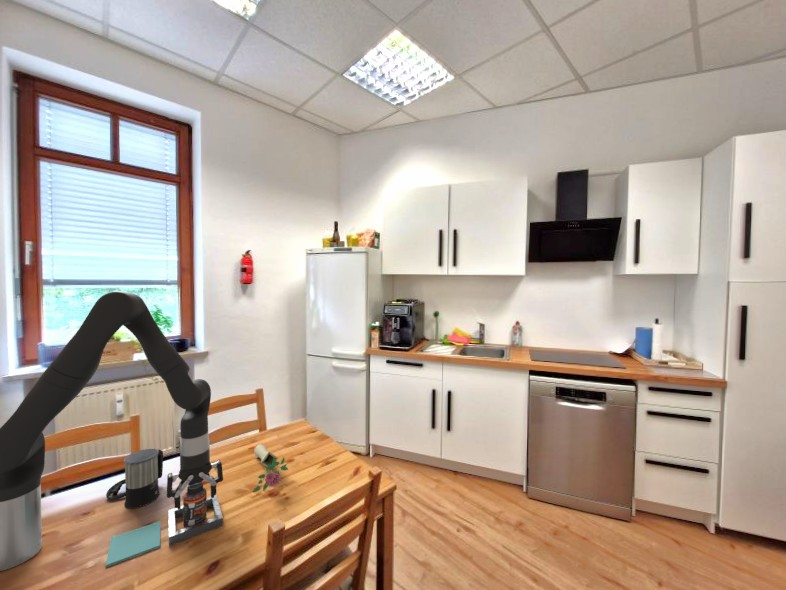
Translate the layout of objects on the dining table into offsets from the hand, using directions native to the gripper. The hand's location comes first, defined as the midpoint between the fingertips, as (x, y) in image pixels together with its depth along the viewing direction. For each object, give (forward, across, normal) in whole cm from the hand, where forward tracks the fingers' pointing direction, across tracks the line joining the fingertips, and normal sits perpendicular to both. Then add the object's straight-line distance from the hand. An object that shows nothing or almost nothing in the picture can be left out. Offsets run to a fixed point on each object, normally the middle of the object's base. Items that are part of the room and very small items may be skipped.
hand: (196, 502), depth 97 cm
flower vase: (+6, +23, +12) cm, 27 cm away
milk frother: (+6, -16, +25) cm, 30 cm away
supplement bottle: (+6, 0, 0) cm, 6 cm away
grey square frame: (+6, 0, 0) cm, 6 cm away
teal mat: (+6, -14, 0) cm, 15 cm away
